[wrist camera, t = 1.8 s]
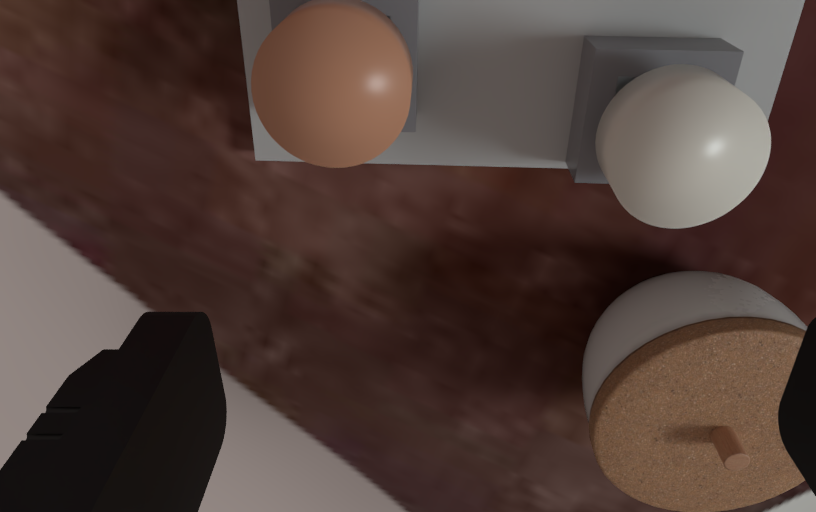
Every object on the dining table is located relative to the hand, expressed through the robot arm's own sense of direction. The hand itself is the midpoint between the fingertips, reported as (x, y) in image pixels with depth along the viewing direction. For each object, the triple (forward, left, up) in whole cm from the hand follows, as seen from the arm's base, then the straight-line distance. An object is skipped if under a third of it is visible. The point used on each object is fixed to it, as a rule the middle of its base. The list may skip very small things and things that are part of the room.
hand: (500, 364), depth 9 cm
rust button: (0, -4, -18) cm, 19 cm away
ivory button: (+2, +8, -18) cm, 20 cm away
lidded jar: (+14, +12, -21) cm, 28 cm away
